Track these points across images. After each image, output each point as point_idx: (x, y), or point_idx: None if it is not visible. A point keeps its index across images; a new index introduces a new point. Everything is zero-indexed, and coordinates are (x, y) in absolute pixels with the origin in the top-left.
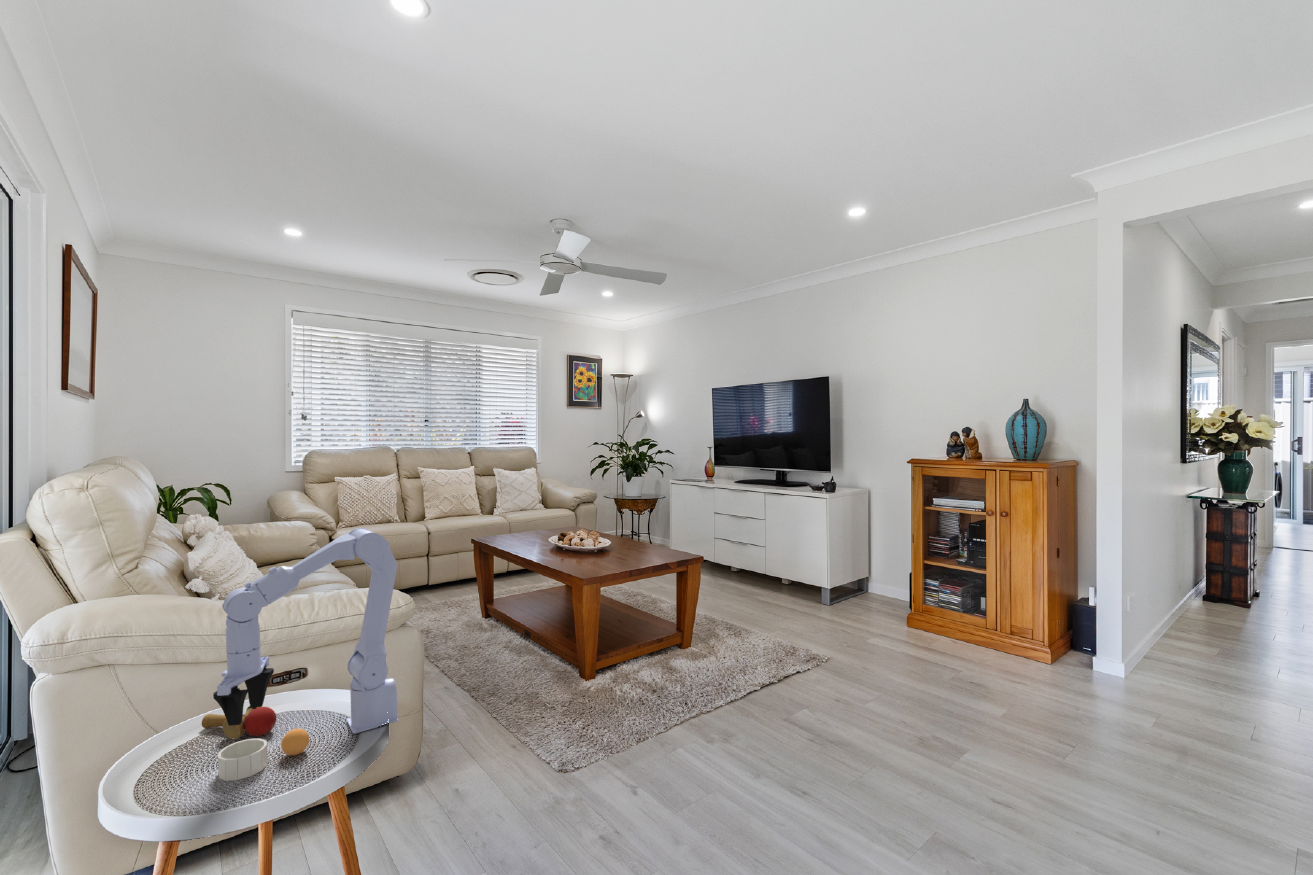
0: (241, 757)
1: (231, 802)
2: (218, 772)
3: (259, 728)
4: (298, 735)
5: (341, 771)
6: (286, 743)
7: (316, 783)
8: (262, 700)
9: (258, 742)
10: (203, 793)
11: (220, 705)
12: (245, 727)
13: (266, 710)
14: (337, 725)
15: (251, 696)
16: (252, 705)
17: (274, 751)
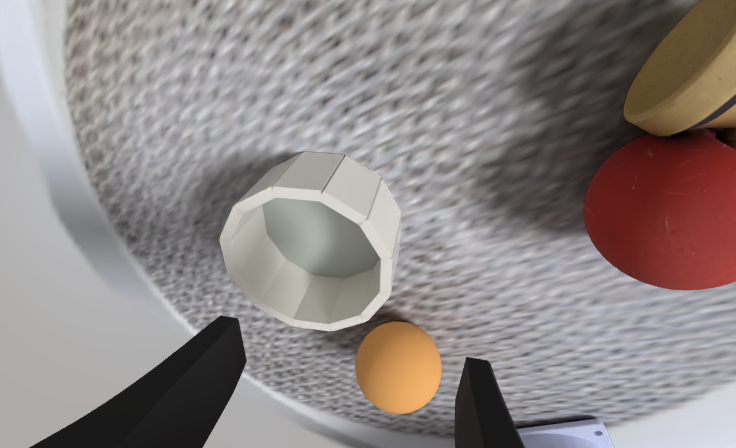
0: (241, 283)
1: (160, 256)
2: (291, 158)
3: (585, 223)
4: (372, 403)
5: (297, 419)
6: (358, 363)
7: (250, 389)
8: (456, 445)
9: (377, 288)
10: (186, 162)
11: (53, 437)
12: (624, 156)
13: (681, 281)
14: (577, 398)
15: (472, 438)
16: (465, 375)
17: (436, 275)
